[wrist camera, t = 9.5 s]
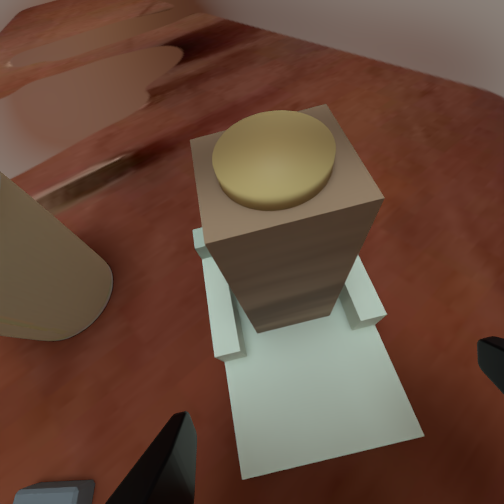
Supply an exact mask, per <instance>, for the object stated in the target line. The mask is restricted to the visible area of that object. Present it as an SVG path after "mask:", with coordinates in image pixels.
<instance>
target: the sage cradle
mask: <svg viewBox="0 0 504 504" xmlns="http://www.w3.org/2000/svg"><path fill="white" fill-rule="evenodd" d="M193 237H194V245H195V250H196V251H197V253H198V254H199V256H200V257H201V258H202V263H203V271H204V279H205V286H206V294H207V302H208V309H209V317H210V325H211V333H212V340H213V348H214V356H215V358H217V359H219V360H221V361H224V362H225V367H226V374H227V381H228V388H229V394H230V401H231V408H232V415H233V422H234V428H235V435H236V442H237V449H238V456H239V463H240V469H241V476H242V480H244V479H248V478H252V477H256V476H260V475H265V474H269V473H273V472H277V471H281V470H286V469H290V468H294V467H298V466H302V465H306V464H311V463H315V462H319V461H323V460H327V459H331V458H336V457H340V456H344V455H348V454H352V453H356V452H361V451H365V450H369V449H373V448H377V447H381V446H386V445H390V444H394V443H398V442H402V441H407V440H411V439H415V438H419V437H423V436H424V434H423V431H422V429H421V427H420V425H419V422H418V420H417V418H416V416H415V413H414V411H413V409H412V407H411V405H410V402H409V400H408V398H407V396H406V393H405V391H404V389H403V387H402V385H401V382H400V380H399V378H398V376H397V373H396V371H395V369H394V367H393V364H392V362H391V360H390V358H389V356H388V353H387V351H386V349H385V347H384V344H383V342H382V340H381V338H380V336H379V333H378V331H377V329H376V327H375V324H376V323H378V322H379V321H380V320H381V319H382V318H383V317H385V316H386V315H387V314H386V312H385V310H384V307H383V305H382V303H381V301H380V299H379V297H378V295H377V293H376V291H375V289H374V287H373V285H372V283H371V280H370V278H369V276H368V274H367V272H366V270H365V268H364V266H363V264H362V262H361V260H360V258H359V256H357V258H356V260H355V262H354V264H353V267H352V269H351V271H350V273H349V275H348V277H347V279H346V282H345V284H344V286H343V288H342V290H341V292H340V294H339V297H338V299H337V301H336V303H335V305H334V307H333V309H332V312H331V314H330V316H326V317H322V318H318V319H314V320H310V321H306V322H302V323H298V324H294V325H290V326H286V327H282V328H278V329H274V330H270V331H266V332H262V333H258V334H257V332H256V331H255V329H254V327H253V325H252V324H251V322H250V320H249V319H248V317H247V315H246V314H245V312H244V310H243V308H242V307H241V305H240V303H239V302H238V300H237V298H236V297H235V295H234V293H233V292H232V290H231V288H230V286H229V285H228V283H227V281H226V280H225V278H224V276H223V275H222V273H221V271H220V270H219V268H218V266H217V264H216V263H215V261H214V259H213V258H212V256H211V254H210V253H209V251H208V249H207V247H206V246H205V244H204V237H203V230H202V228H198V229H194V230H193Z"/></svg>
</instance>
